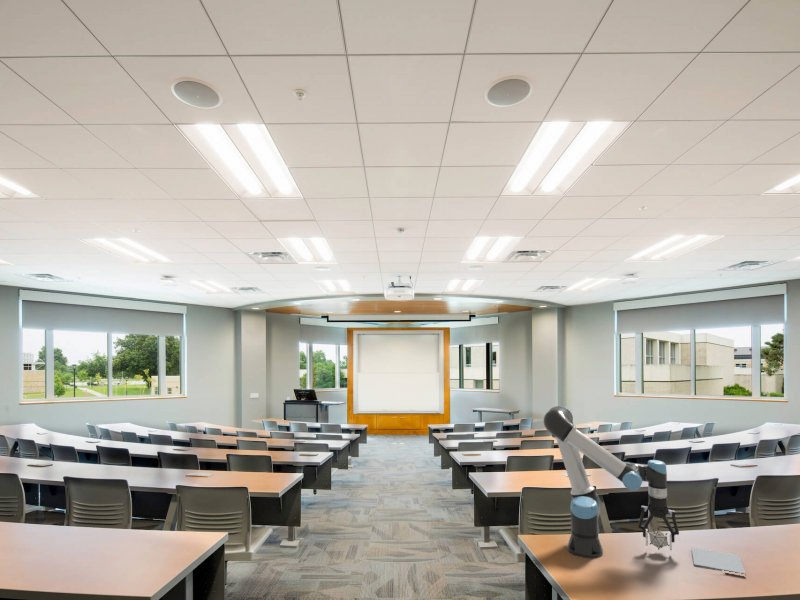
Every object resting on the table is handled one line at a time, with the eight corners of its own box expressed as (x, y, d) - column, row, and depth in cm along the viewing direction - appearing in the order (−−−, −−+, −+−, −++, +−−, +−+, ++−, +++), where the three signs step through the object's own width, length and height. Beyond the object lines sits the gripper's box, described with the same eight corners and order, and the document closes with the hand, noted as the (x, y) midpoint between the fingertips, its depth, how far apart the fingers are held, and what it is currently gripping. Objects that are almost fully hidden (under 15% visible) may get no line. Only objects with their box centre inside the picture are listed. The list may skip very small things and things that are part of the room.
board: (694, 567, 211) (694, 564, 211) (691, 550, 227) (691, 547, 227) (745, 577, 203) (745, 573, 203) (739, 558, 219) (739, 555, 219)
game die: (672, 555, 220) (671, 532, 220) (651, 553, 221) (651, 530, 222) (665, 546, 229) (665, 524, 229) (645, 544, 230) (645, 522, 231)
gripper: (631, 494, 228) (631, 545, 227) (685, 502, 218) (686, 555, 217) (631, 489, 234) (632, 538, 233) (684, 497, 224) (685, 548, 223)
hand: (658, 546), depth 225 cm, fingers closed on game die, 9 cm apart
